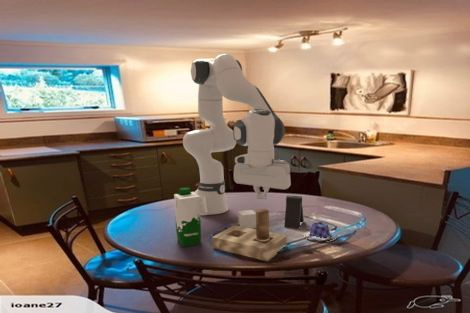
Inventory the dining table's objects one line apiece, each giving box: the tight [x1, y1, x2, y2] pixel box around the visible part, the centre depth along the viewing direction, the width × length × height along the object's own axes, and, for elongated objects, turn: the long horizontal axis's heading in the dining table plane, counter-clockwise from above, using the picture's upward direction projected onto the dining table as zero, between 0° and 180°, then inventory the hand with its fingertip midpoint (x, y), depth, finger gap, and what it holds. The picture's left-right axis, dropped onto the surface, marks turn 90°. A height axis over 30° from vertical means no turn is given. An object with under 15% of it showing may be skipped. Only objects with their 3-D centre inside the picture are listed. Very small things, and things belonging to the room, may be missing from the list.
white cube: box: [237, 209, 256, 229], centre depth 147 cm, size 6×6×6 cm
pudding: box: [303, 221, 337, 243], centre depth 133 cm, size 12×12×5 cm
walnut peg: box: [255, 208, 270, 243], centre depth 122 cm, size 5×5×14 cm
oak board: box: [211, 224, 288, 262], centre depth 125 cm, size 22×14×4 cm, turn 56°
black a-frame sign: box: [284, 195, 305, 229], centre depth 146 cm, size 9×6×12 cm, turn 156°
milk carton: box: [173, 186, 202, 248], centre depth 131 cm, size 9×9×20 cm
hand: (261, 198), depth 120 cm, fingers closed
